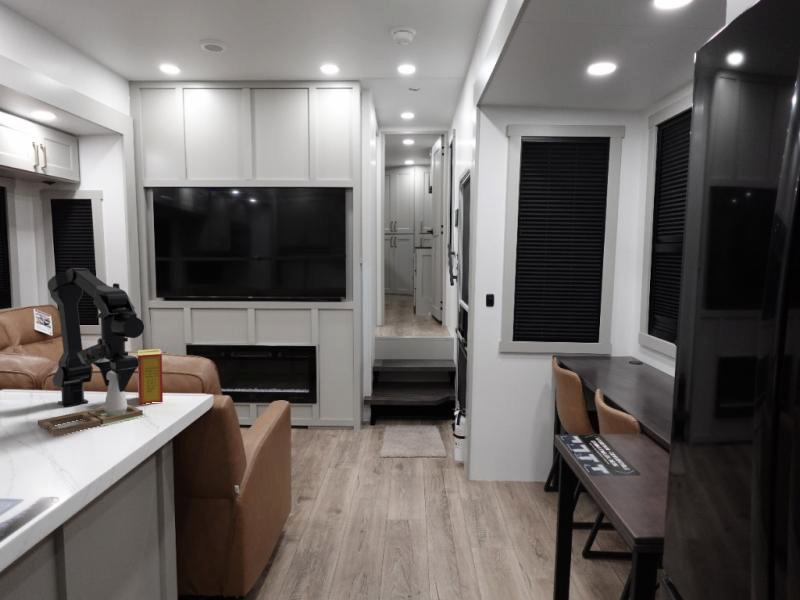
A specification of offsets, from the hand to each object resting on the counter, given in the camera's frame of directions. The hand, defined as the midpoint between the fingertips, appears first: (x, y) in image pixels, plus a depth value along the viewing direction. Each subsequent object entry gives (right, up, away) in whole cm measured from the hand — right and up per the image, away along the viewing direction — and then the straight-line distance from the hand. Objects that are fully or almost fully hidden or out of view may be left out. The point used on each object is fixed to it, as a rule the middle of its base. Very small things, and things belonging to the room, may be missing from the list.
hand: (114, 388), depth 136 cm
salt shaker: (0, -8, +1) cm, 8 cm away
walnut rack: (-5, -8, -3) cm, 10 cm away
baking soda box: (+1, -7, +17) cm, 19 cm away
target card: (0, -8, +1) cm, 8 cm away
